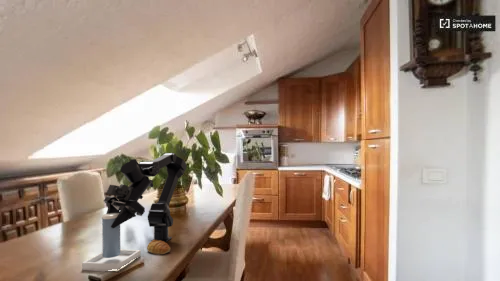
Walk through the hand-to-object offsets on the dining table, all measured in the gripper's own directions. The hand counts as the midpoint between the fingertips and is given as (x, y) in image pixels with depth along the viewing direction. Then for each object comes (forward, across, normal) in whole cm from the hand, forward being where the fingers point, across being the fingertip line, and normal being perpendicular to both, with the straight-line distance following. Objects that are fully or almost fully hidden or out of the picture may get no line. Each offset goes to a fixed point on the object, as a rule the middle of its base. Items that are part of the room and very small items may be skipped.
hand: (107, 226), depth 98 cm
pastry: (-3, +4, +22) cm, 23 cm away
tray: (+8, 0, +10) cm, 13 cm away
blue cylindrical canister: (+6, 0, +8) cm, 10 cm away
